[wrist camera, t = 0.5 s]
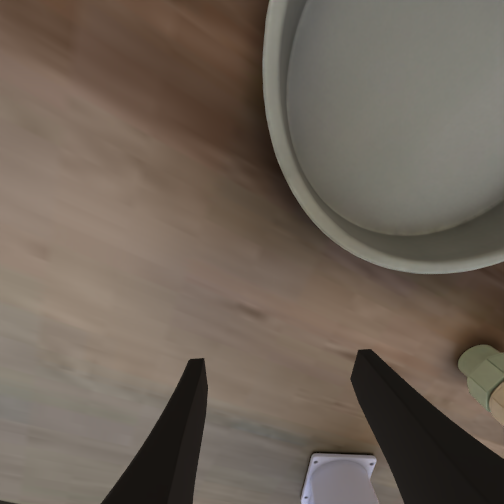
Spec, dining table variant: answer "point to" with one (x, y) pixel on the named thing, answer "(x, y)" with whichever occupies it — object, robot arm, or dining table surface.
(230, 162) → the dining table surface
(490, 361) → the celadon bowl
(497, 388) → the ivory bowl
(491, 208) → the cake pan
